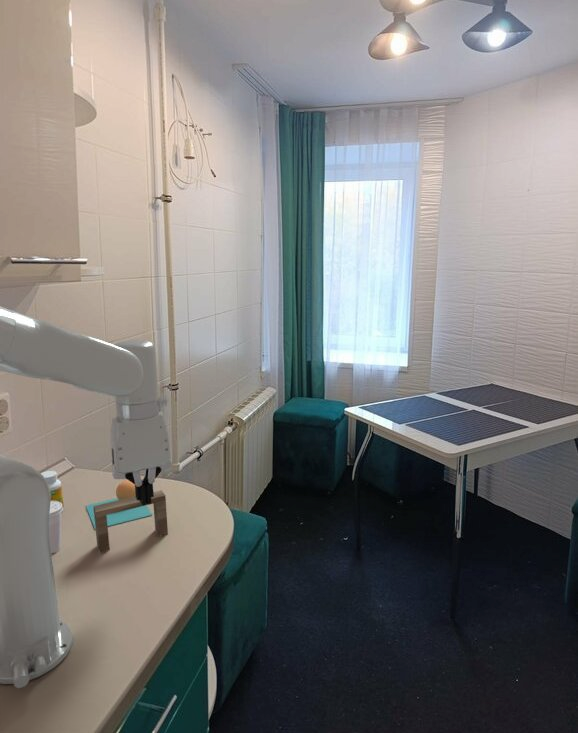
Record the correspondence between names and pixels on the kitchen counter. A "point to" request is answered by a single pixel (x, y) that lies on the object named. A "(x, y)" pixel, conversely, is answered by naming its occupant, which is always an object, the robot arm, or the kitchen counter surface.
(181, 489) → the kitchen counter surface
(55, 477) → the supplement bottle
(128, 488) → the ball
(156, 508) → the bridge
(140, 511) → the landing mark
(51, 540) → the smoothie
